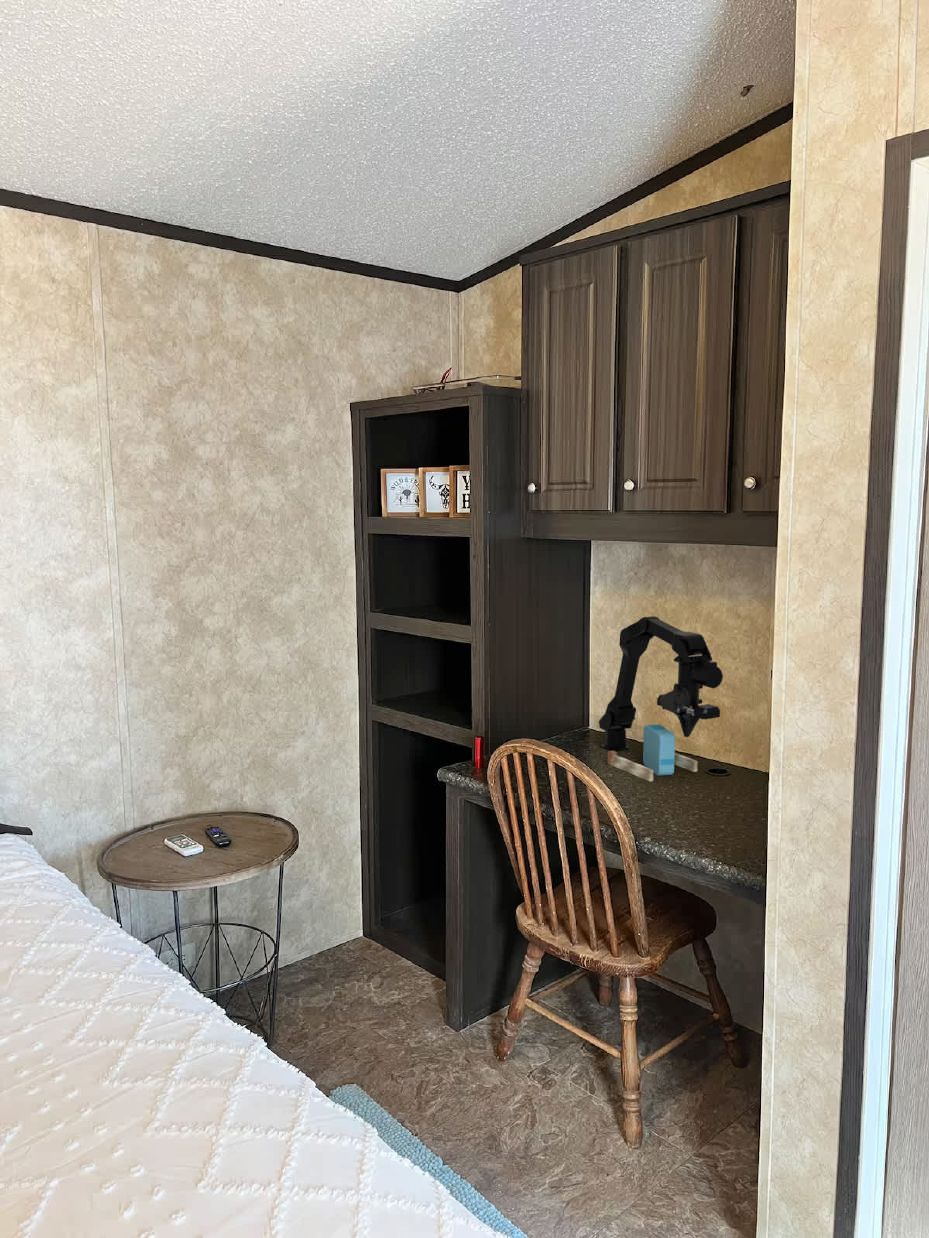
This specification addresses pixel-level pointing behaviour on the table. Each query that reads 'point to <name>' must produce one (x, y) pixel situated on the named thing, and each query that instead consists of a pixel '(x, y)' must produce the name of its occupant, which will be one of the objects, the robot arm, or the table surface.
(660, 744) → the data package
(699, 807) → the table surface
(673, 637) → the robot arm
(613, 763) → the bay
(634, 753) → the table surface
